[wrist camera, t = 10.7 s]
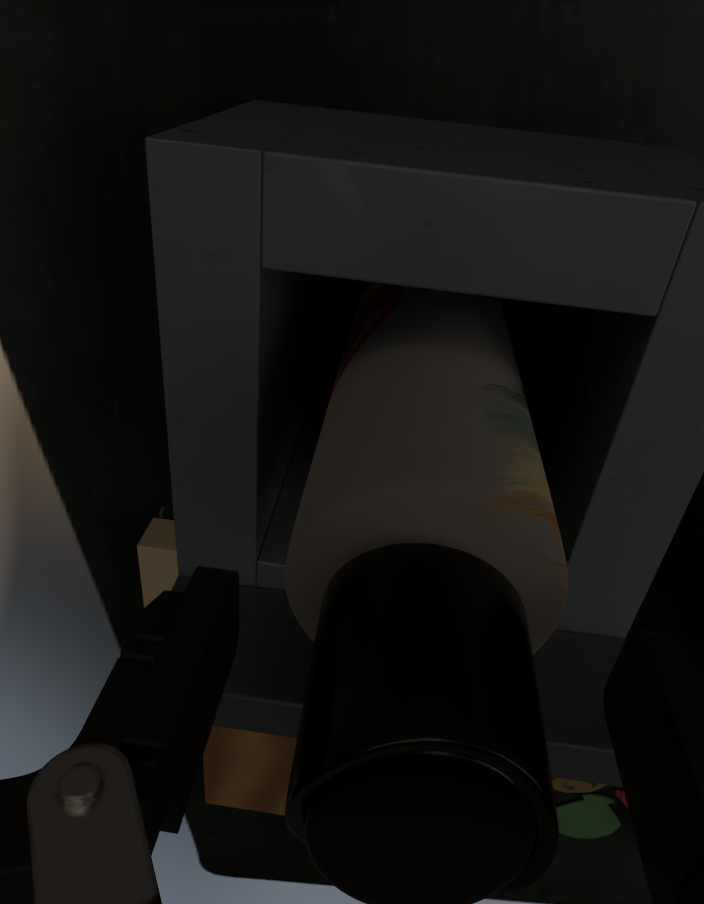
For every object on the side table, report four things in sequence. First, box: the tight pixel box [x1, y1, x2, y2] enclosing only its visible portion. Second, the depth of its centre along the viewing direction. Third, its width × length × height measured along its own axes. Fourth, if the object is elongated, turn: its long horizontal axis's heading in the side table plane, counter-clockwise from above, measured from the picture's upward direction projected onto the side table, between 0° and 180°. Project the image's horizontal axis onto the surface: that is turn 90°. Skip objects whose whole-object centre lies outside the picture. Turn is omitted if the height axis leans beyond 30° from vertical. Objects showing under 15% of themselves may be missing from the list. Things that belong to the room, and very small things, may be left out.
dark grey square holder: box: [145, 100, 704, 787], centre depth 20 cm, size 14×14×14 cm
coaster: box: [203, 726, 297, 815], centre depth 43 cm, size 10×10×1 cm
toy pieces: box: [552, 777, 628, 839], centre depth 39 cm, size 12×11×4 cm
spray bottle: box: [285, 282, 568, 904], centre depth 17 cm, size 6×6×20 cm
